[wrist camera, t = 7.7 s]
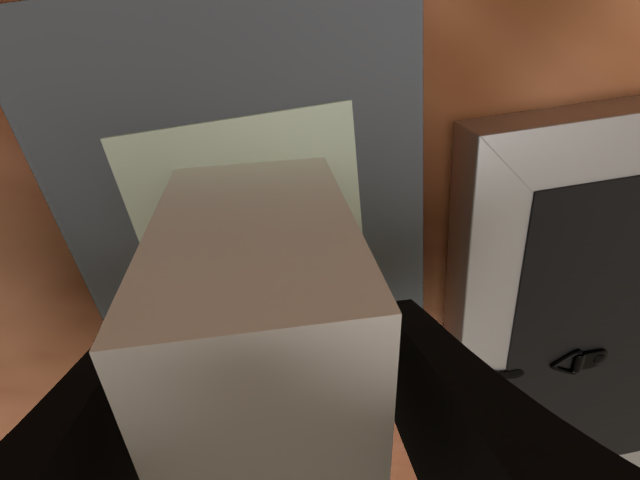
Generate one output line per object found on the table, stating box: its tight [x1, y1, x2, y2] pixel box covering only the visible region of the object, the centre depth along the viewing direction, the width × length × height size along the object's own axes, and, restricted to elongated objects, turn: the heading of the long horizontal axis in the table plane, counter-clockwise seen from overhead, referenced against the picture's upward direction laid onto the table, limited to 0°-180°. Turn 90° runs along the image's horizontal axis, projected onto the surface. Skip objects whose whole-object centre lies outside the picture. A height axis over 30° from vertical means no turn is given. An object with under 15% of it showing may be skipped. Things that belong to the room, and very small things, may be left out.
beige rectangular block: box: [89, 157, 402, 480], centre depth 9 cm, size 4×6×6 cm, turn 2°
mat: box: [0, 0, 423, 321], centre depth 12 cm, size 14×9×1 cm, turn 7°
